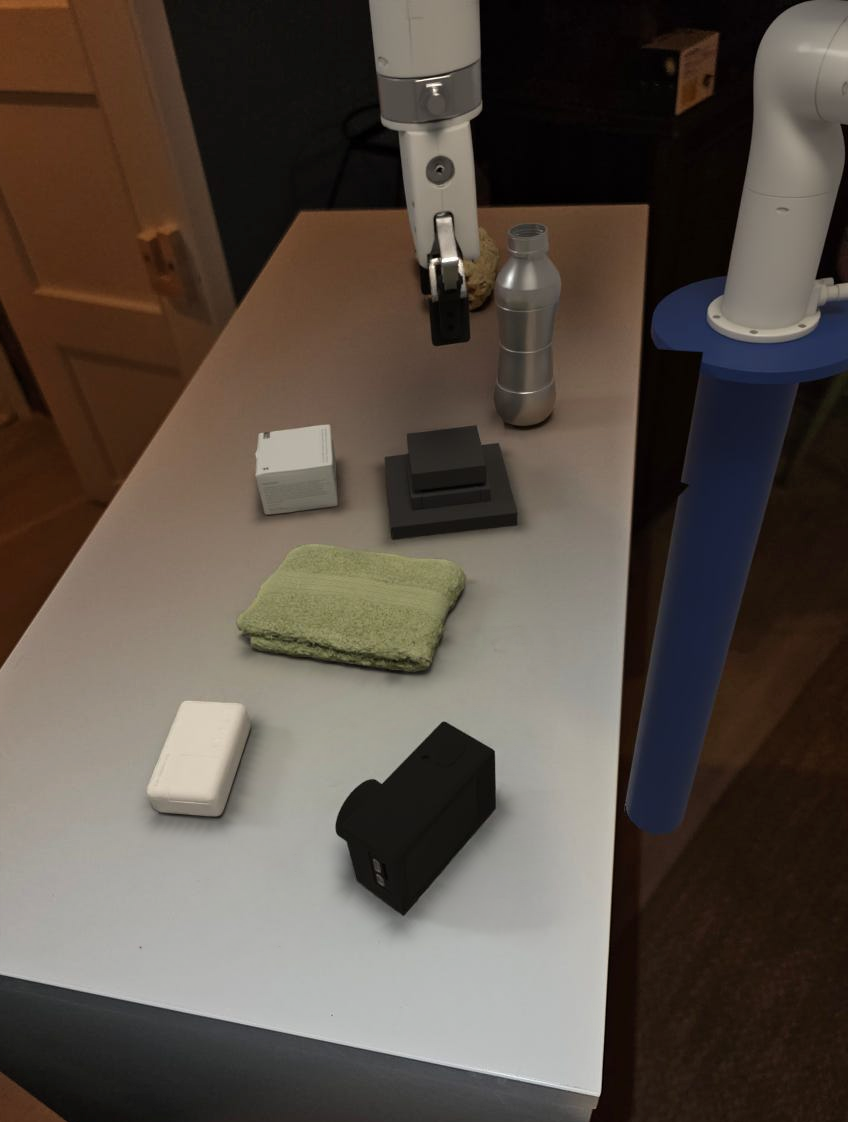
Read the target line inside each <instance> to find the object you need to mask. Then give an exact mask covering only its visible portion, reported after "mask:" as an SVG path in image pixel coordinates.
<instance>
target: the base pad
mask: <svg viewBox="0 0 848 1122" xmlns="http://www.w3.org/2000/svg"><path fill="white" fill-rule="evenodd" d="M481 445H482V449H483V454H484V458H485V462H486V477H487V482H484V483H476V484H473V485H466V486H458V487H449V488H441V489H433V490H417V491H413V485H412V477H411V469H410V462H409V454H408V453H404V454H396V455H387V456H384V467H385V476H386V488H387V498H388V509H389V520H390V530H391V537H392V540H396V539H398V540H399V539H407V538H414V537H415V538H416V537H422V536H423V537H425V536H432V535H439V534H449V533H459V532H467V531H475V530H483V529H492V528H500V527H508V526H517V525H518V509H517V506H516V502H515V498H514V494H513V490H512V487H511V483H510V480H509V476H508V471H507V468H506V465H505V464H506V463H505V461H504V456H503V452H502V449H501V445H500V442H493V443H485V444H481Z"/></svg>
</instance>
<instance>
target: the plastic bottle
mask: <svg viewBox="0 0 848 1122" xmlns="http://www.w3.org/2000/svg"><path fill="white" fill-rule="evenodd" d="M549 248H550V243H549V230H548V227H547V226H546V225H544V224H542V223H536V222H525V223H519V224H516V225H514V226H511V227H510V228H509V229H508V230H507V245H506V253H507V254H508V255H509V257H508V258H507V260H506V261H505V263H504V264H503V266H502V267H501V268H500V271H499V272H498V274H497V276H496V277H495V284H494V288H493V297H494V303H495V310H496V318H497V326H498V339H499V342H498V343H499V344H498V345H499V355H498V365H497V375H496V380H495V383H494V389H493V390H494V391H493V397H492V399H493V404H494V409H495V412H496V414H497V415H498V417H499V418H500V419H501V420H502V422H505V423H506V424H509V425H513V426H517V427H518V426H519V427H526V426H533V425H537V424H540V423H542V422H544V421H545V420H546V419H547V418H548V417H549V416H550V415H551V414H552V412H553V410H554V408H555V403H556V399H557V387H556V380H555V376H554V358H553V357H554V356H553V344H554V335H555V325H556V319H557V314H558V308H559V303H560V298H561V293H562V287H563V286H562V285H563V283H562V279H561V275H560V272H559V270H558V268H556V266H555V264H554V263H553V262H552V260H551V259H550V258H549V256H548V255H547V252H548V251H549Z"/></svg>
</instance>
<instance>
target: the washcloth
mask: <svg viewBox="0 0 848 1122" xmlns="http://www.w3.org/2000/svg"><path fill="white" fill-rule="evenodd" d="M466 580H467V575H466V573H465V572H464V570H463V569H462V568H461V566H459V565H458V564H457V563H455V562H453V561H451V560H448V559H442V558H427V557H423V558H415V557H414V558H413V557H407V556H403V555H402V556H401V555H398V554H395V553H386V552H385V553H382V552H377V551H366V550H358V549H350V548H347V547H340V546H335V545H329V544H323V543H308V544H302V545H297V546H295V547H293V548H291V550H289V552H288V553H287V554H286V555H285V557H284V560H283V561H282V562H281V563H280V565H278V567H277V568H276V569H275V570H274V571H273V573H272V574H270V576H268V578H266V579H265V580H264V582H263V583H262V584H261V585H260V587H259V590H258V594H257V595H256V597H255V599H254V600H253V602H252V603H251V604H250V605H249V607H248V608H247V609H245V610H244V611H243V612H242V613H241V614H240V615H239V616H238V618H237V619H236V622H235V623H236V624H235V625H236V628H237V630H238V631H240V634H242V635H244V636H248V637H250V646H251V648H252V649H255V650H258V651H261V652H270V653H275V654H276V653H277V654H286V655H290V656H291V657H295V658H296V657H297V658H301V657H307V658H313V659H315V660H322V661H332V662H336V663H340V662H342V663H343V664H345V663H346V664H349V665H350V664H351V665H359V666H362V667H368V668H371V667H373V668H374V667H375V668H380V669H381V668H383V669H388V670H393V671H397V670H398V671H406V673H407V672H408V673H416V672H418V671H425V670H428V669H429V667H430V666H431V664H432V663H433V657H434V656H435V651H436V649H435V648H436V646H439V641H440V639H441V638H442V635H443V633H444V631H445V628H444V624H445V622H446V619H447V617H448V613H449V611H450V610H452V609H454V607H455V605H456V601H457V600H458V597H459V596H460V595H461V593H462V591H463V589H464V588H465V587H466V584H467V583H466Z"/></svg>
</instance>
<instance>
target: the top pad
mask: <svg viewBox="0 0 848 1122" xmlns="http://www.w3.org/2000/svg"><path fill="white" fill-rule="evenodd" d="M480 438H481V437H480V432H479V429H478V425H477V424H473V425H466V426H457V427H450V428H440V429H434V430H432V429H431V430H424V431H415V432H409V433H408V432H407V433H406V442H407V443H406V445H407V454H409V462H410V469H411V477H412V485H413V491H417V490H433V489H441V488H449V487H458V486H466V485H473V484H476V483H484V482H487V477H486V462H485V458H484V454H483V449H482V445H483V444H482V441H481V439H480Z"/></svg>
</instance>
